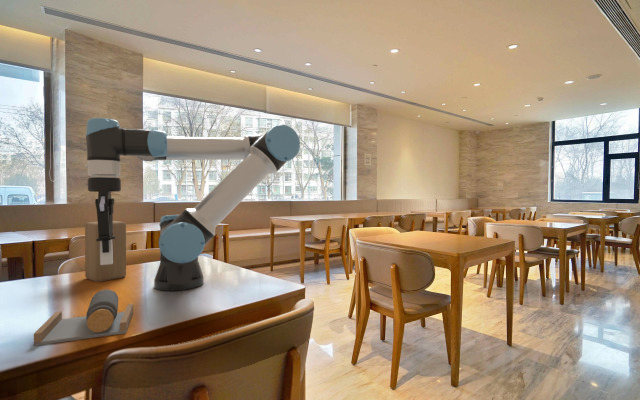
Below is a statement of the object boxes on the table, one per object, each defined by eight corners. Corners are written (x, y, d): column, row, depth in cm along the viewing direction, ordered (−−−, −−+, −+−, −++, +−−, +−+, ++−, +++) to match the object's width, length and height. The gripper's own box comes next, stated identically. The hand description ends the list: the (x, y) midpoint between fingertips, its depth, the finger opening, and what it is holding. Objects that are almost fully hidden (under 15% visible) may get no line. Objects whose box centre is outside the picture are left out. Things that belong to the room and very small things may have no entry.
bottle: (85, 308, 81) (77, 330, 68) (99, 285, 83) (93, 303, 70) (110, 315, 84) (107, 338, 71) (123, 293, 85) (122, 312, 72)
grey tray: (133, 313, 85) (133, 303, 85) (126, 333, 73) (126, 322, 73) (55, 322, 78) (55, 312, 78) (33, 345, 66) (33, 333, 66)
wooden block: (114, 273, 126) (114, 220, 126) (127, 277, 120) (127, 221, 120) (84, 278, 118) (83, 222, 117) (96, 283, 112) (95, 223, 112)
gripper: (92, 177, 94) (94, 260, 95) (82, 175, 83) (85, 270, 83) (122, 178, 98) (124, 258, 98) (118, 176, 86) (120, 267, 87)
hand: (106, 263), depth 91 cm, fingers closed
